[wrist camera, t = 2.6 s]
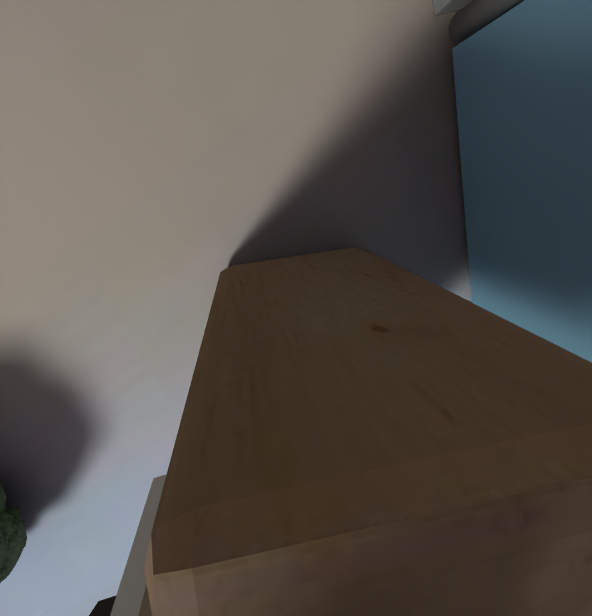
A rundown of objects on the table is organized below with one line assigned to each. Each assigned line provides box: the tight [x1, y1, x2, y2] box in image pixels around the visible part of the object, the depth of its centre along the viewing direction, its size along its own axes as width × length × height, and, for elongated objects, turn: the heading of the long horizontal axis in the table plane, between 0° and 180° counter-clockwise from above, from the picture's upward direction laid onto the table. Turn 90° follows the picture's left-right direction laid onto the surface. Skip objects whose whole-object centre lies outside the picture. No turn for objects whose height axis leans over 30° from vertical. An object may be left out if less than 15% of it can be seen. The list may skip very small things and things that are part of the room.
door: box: [449, 0, 592, 362], centre depth 19 cm, size 27×3×12 cm, turn 14°
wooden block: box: [144, 247, 592, 616], centre depth 16 cm, size 10×10×20 cm
